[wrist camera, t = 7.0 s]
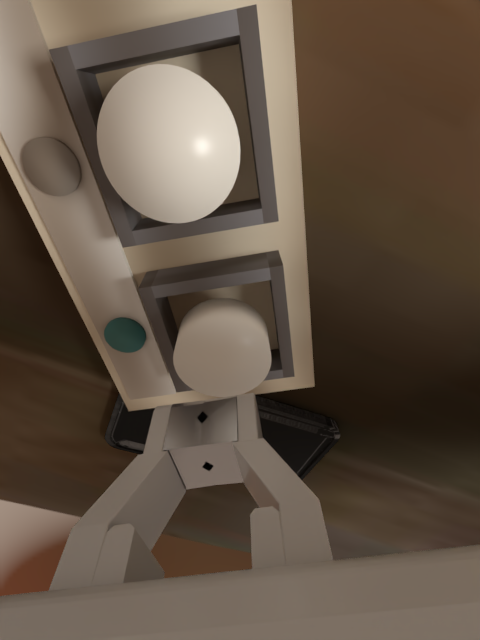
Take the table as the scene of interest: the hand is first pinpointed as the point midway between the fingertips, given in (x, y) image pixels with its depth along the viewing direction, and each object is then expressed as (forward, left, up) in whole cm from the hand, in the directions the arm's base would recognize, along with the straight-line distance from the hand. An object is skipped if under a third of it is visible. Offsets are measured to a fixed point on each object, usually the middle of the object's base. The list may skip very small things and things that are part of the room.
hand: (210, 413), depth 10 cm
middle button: (0, -7, -4) cm, 8 cm away
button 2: (0, 0, -4) cm, 4 cm away
